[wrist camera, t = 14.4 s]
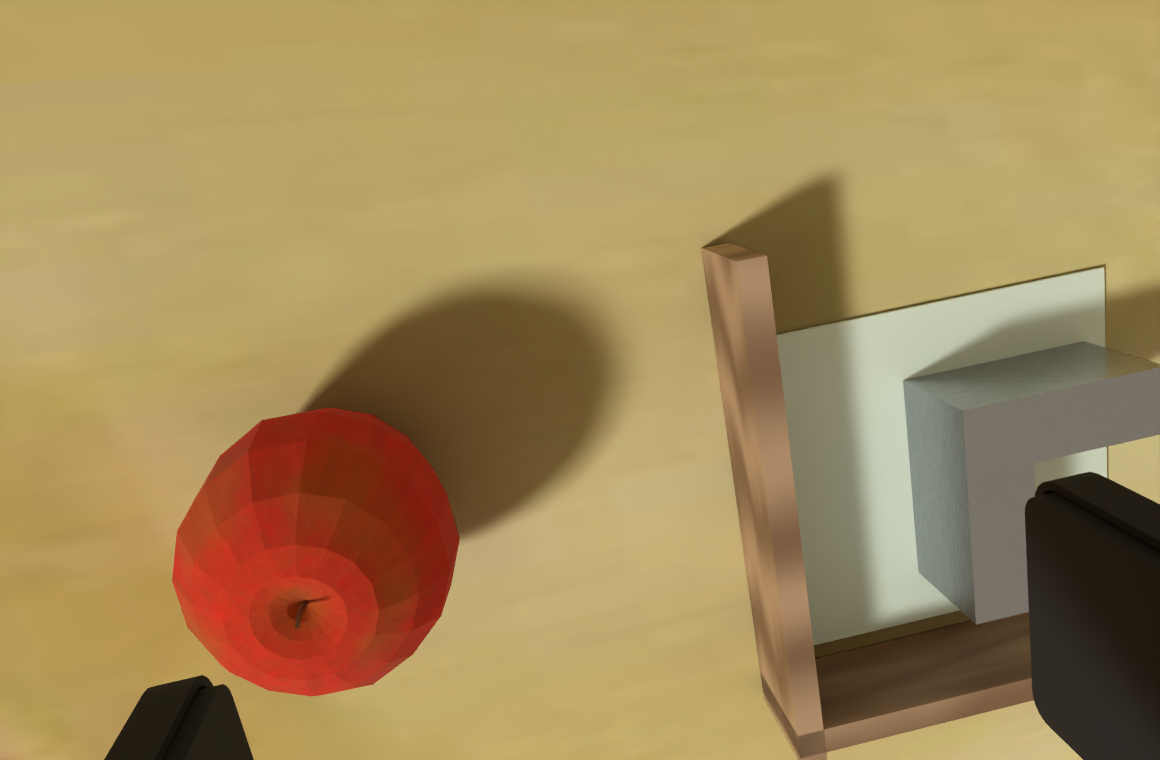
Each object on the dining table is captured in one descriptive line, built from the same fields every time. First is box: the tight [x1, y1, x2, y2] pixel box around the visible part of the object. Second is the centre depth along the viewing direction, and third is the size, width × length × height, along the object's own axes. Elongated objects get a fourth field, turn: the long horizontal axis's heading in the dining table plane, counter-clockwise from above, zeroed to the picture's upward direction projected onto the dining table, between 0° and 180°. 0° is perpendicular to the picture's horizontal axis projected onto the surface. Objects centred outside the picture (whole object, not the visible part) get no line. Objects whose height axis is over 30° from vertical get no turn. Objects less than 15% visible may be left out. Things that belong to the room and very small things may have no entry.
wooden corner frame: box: [701, 243, 1034, 760], centre depth 39 cm, size 23×20×5 cm
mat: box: [777, 267, 1107, 645], centre depth 42 cm, size 16×16×1 cm
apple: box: [172, 407, 460, 696], centre depth 33 cm, size 10×10×12 cm
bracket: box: [903, 341, 1160, 625], centre depth 40 cm, size 10×9×5 cm
